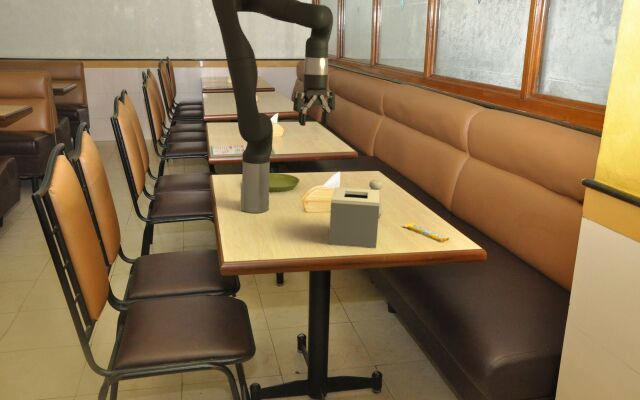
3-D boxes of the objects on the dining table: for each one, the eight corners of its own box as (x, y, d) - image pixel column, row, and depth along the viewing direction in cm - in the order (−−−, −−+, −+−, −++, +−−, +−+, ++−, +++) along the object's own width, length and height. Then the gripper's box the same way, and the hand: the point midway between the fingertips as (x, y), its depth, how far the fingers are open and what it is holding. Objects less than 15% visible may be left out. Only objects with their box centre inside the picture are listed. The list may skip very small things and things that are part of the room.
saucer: (254, 179, 245) (254, 171, 244) (303, 182, 243) (303, 175, 242) (241, 192, 225) (241, 184, 224) (294, 196, 223) (294, 188, 222)
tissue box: (328, 244, 175) (331, 199, 171) (332, 229, 188) (334, 187, 184) (376, 248, 173) (379, 202, 169) (376, 232, 187) (379, 190, 183)
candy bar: (451, 242, 182) (451, 236, 182) (441, 244, 180) (442, 239, 179) (412, 226, 195) (413, 221, 195) (403, 228, 193) (403, 223, 192)
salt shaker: (380, 221, 198) (383, 183, 194) (363, 219, 199) (366, 182, 195) (382, 215, 203) (385, 179, 200) (366, 214, 205) (368, 178, 201)
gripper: (327, 71, 188) (325, 121, 193) (289, 71, 180) (288, 124, 185) (341, 73, 182) (338, 125, 187) (303, 73, 175) (301, 128, 179)
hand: (313, 124), depth 186 cm, fingers open, 8 cm apart
